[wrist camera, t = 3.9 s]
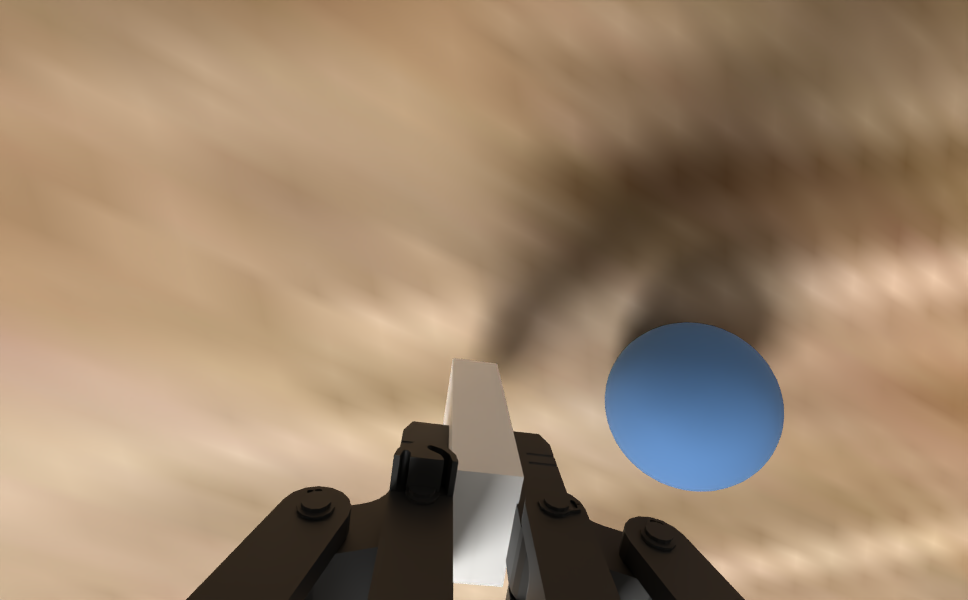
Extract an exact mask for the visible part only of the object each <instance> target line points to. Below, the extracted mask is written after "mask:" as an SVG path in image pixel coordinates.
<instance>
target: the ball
mask: <svg viewBox="0 0 968 600" xmlns="http://www.w3.org/2000/svg"><path fill="white" fill-rule="evenodd" d="M605 409H606V416H607V421H608V424H609V427H610V430H611V432H612V434H613V436H614V439H615V441H616V443H617V444H618V446H619V447H620V449H621V450H622V452H623V453H624V454H625V455H626V457H627V458H628V459H629V460H630V461H631V462H632V463H633V464H634V465H635V466H636V467H637V468H639V469H640V470H641V471H642V472H644V473H645V474H647V475H648V476H650V477H652V478H653V479H655V480H657V481H659V482H661V483H663V484H666V485H668V486H671V487H675V488H678V489H682V490H689V491H715V490H720V489H724V488H728V487H731V486H734V485H736V484H739V483H741V482H743V481H745V480H746V479H748V478H750V477H751V476H752V475H754V474H755V473H756V472H758V471H759V470H760V469H761V468H762V467H763V466H764V465H765V464H766V462H767V461H768V460H769V459H770V457H771V456H772V454H773V452H774V451H775V449H776V447H777V444H778V442H779V439H780V437H781V433H782V429H783V422H784V404H783V399H782V394H781V390H780V387H779V384H778V382H777V379H776V377H775V376H774V374H773V372H772V370H771V368H770V367H769V365H768V364H767V362H766V361H765V360H764V359H763V357H762V356H761V355H760V354H759V353H758V352H757V351H756V350H755V349H754V348H753V347H752V346H751V345H749V344H748V343H747V342H745V341H744V340H742V339H741V338H739V337H738V336H736V335H734V334H732V333H730V332H728V331H726V330H724V329H721V328H718V327H715V326H712V325H707V324H701V323H689V322H685V323H673V324H668V325H664V326H660V327H658V328H655V329H652V330H650V331H648V332H646V333H644V334H643V335H641V336H639V337H638V338H636V339H635V340H634V341H633V342H631V343H630V344H629V345H628V346H627V347H626V348H625V349H624V350H623V351H622V353H621V354H620V355H619V357H618V358H617V360H616V362H615V363H614V365H613V367H612V369H611V372H610V374H609V377H608V380H607V384H606V392H605Z"/></svg>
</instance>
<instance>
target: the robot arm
mask: <svg viewBox="0 0 968 600" xmlns="http://www.w3.org/2000/svg"><path fill="white" fill-rule="evenodd" d="M506 567H507V574H508V581H509V585H508V590H507V595H506V600H745V599H744V598H743V597H742V596H741V595H740V594H739V593H738V592H737V591H736V590H735V589H734V588H733V587H732V586H731V585H730V584H729V582H728V581H727V580H726V579H725V578H724V577H723V576H722V575H721V574H720V573H719V572H718V571H717V570H716V569H715V568H714V567H713V566H712V565H711V563H710V562H709V561H708V560H707V559H706V558H705V557H704V556H703V555H702V554H701V553H700V552H699V551H698V550H697V549H696V548H695V547H694V546H693V544H692V543H691V542H690V541H689V540H688V539H687V538H686V537H685V536H684V535H683V534H682V533H680V532H679V531H678V530H677V529H676V528H674V527H673V526H671V525H669V524H667V523H665V522H664V521H661V520H658V519H655V518H651V517H640V516H638V517H635V518H631V519H629V520H628V521H627V522H626V523H625V526H624V530H623V532H621V531H618V530H615V529H612V528H609V527H605V526H602V525H600V524H597V523H595V522H593V521H591V520H589V517H588V515H587V512H586V510H585V508H584V507H583V505H582V504H581V502H580V501H578V500H577V499H576V498H575V497H573V496H572V495H570V494H568V493H567V492H566V489H565V486H564V483H563V481H562V478H561V475H560V472H559V470H558V467H557V464H556V461H555V458H553V453H552V450H551V447H550V445H549V444H548V443H547V442H546V441H545V440H544V439H543V438H542V437H541V436H540V435H539V434H532V433H523V432H514V431H513V428H512V424H511V420H510V416H509V411H508V407H507V403H506V399H505V394H504V390H503V386H502V382H501V377H500V373H499V369H498V364H497V363H490V362H482V361H474V360H466V359H458V358H453V360H452V367H451V374H450V381H449V387H448V394H447V401H446V408H445V414H444V421H443V425H440V424H431V423H422V422H412V423H411V424H410V425H409V426H407V427H406V428H405V429H404V431H403V436H402V440H401V445H400V448H398V449H397V451H396V453H395V454H394V459H393V467H392V475H391V483H390V490H389V492H388V493H387V494H386V495H384V496H383V497H381V498H380V499H377V500H375V501H372V502H369V503H364V504H358V505H351V504H350V500H349V498H348V497H347V496H346V495H345V494H344V493H343V492H341V491H338V490H336V489H333V488H329V487H321V486H317V487H308V488H304V489H301V490H298V491H295V492H293V493H291V494H290V495H289V496H287V497H286V498H284V499H283V500H282V501H281V502H280V503H279V504H278V505H277V506H276V507H275V509H274V510H273V511H272V512H271V513H270V514H269V515H268V516H267V517H266V518H265V519H264V520H263V521H262V522H261V523H260V524H259V525H258V526H257V527H256V528H255V529H254V530H253V531H252V532H251V533H250V534H249V535H248V536H247V537H246V538H245V539H244V541H243V542H242V543H241V544H240V545H239V546H238V547H237V548H236V549H235V550H234V551H233V552H232V553H231V554H230V555H229V556H228V557H227V558H226V559H225V560H224V561H223V562H222V563H221V564H220V565H219V566H218V567H217V568H216V569H215V570H214V572H213V573H212V574H211V575H210V576H209V577H208V578H207V579H206V580H205V581H204V582H203V583H202V584H201V585H200V586H199V587H198V588H197V589H196V590H195V591H194V592H193V593H192V594H191V595H190V596H189V597H188V598H187V599H186V600H453V583H462V584H474V585H486V586H498V587H503V583H504V578H505V572H506Z"/></svg>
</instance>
